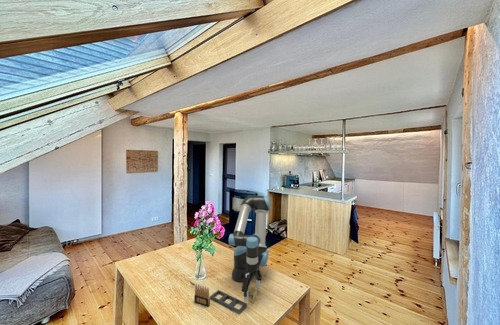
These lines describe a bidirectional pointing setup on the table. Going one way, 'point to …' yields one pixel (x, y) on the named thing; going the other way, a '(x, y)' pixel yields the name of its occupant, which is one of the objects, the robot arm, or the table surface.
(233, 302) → the grey slotted plate
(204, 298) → the ammunition clip
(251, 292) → the block
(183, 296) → the table surface
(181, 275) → the table surface
